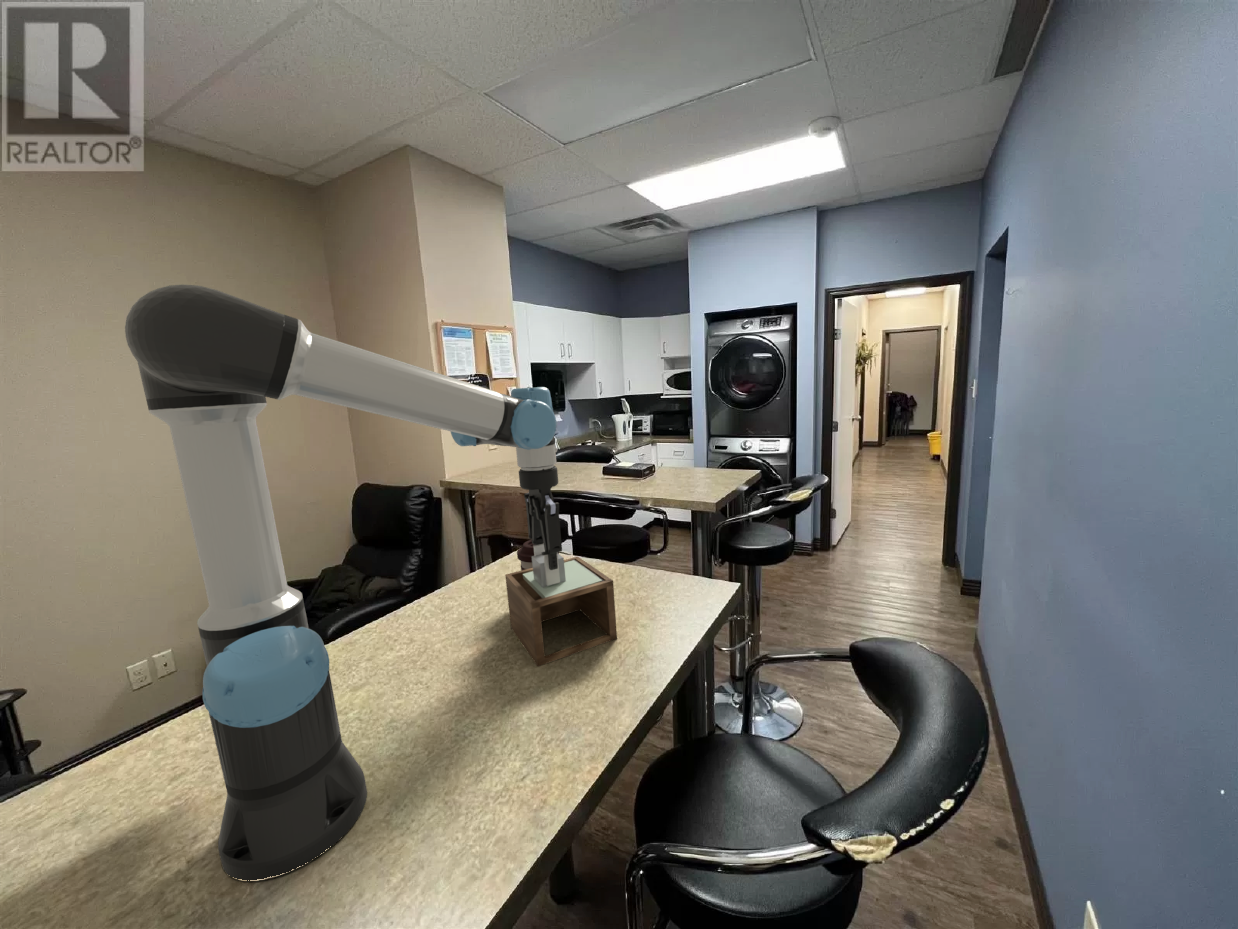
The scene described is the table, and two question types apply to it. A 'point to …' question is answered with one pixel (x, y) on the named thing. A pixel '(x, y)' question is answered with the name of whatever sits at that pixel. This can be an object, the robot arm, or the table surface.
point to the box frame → (559, 612)
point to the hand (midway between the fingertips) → (547, 578)
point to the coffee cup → (526, 555)
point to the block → (540, 569)
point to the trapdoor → (574, 580)
